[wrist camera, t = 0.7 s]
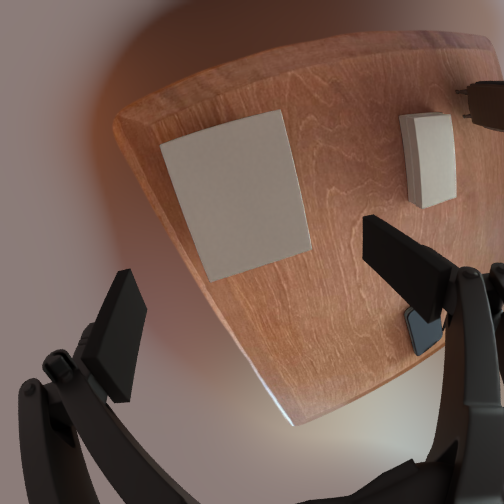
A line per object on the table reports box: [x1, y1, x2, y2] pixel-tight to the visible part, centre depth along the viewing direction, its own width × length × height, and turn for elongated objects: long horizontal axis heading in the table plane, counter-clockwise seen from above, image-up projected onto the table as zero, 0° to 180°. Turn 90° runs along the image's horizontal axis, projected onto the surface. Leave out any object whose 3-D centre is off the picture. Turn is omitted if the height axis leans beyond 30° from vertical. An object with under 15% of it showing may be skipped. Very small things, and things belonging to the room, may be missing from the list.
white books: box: [399, 112, 456, 209], centre depth 31 cm, size 12×8×3 cm, turn 15°
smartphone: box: [404, 307, 443, 356], centre depth 46 cm, size 8×2×15 cm
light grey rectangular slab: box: [160, 109, 312, 282], centre depth 24 cm, size 13×10×2 cm
